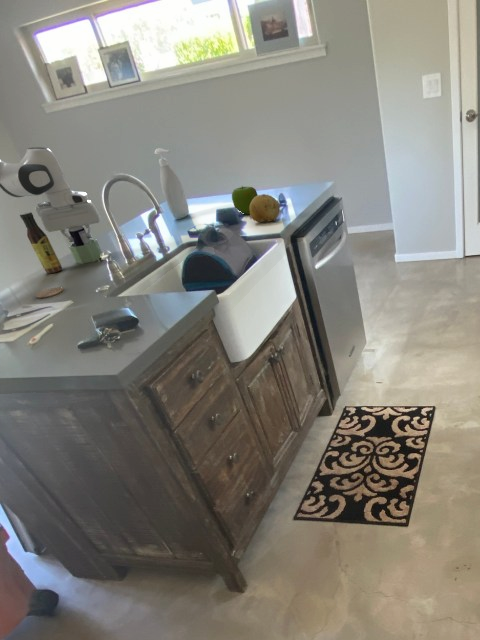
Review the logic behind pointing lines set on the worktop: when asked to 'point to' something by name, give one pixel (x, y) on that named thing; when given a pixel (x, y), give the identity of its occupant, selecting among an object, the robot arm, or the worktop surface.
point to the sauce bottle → (41, 244)
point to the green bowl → (86, 252)
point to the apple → (243, 198)
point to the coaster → (49, 292)
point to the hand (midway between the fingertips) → (81, 239)
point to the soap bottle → (172, 188)
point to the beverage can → (79, 236)
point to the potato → (264, 208)
